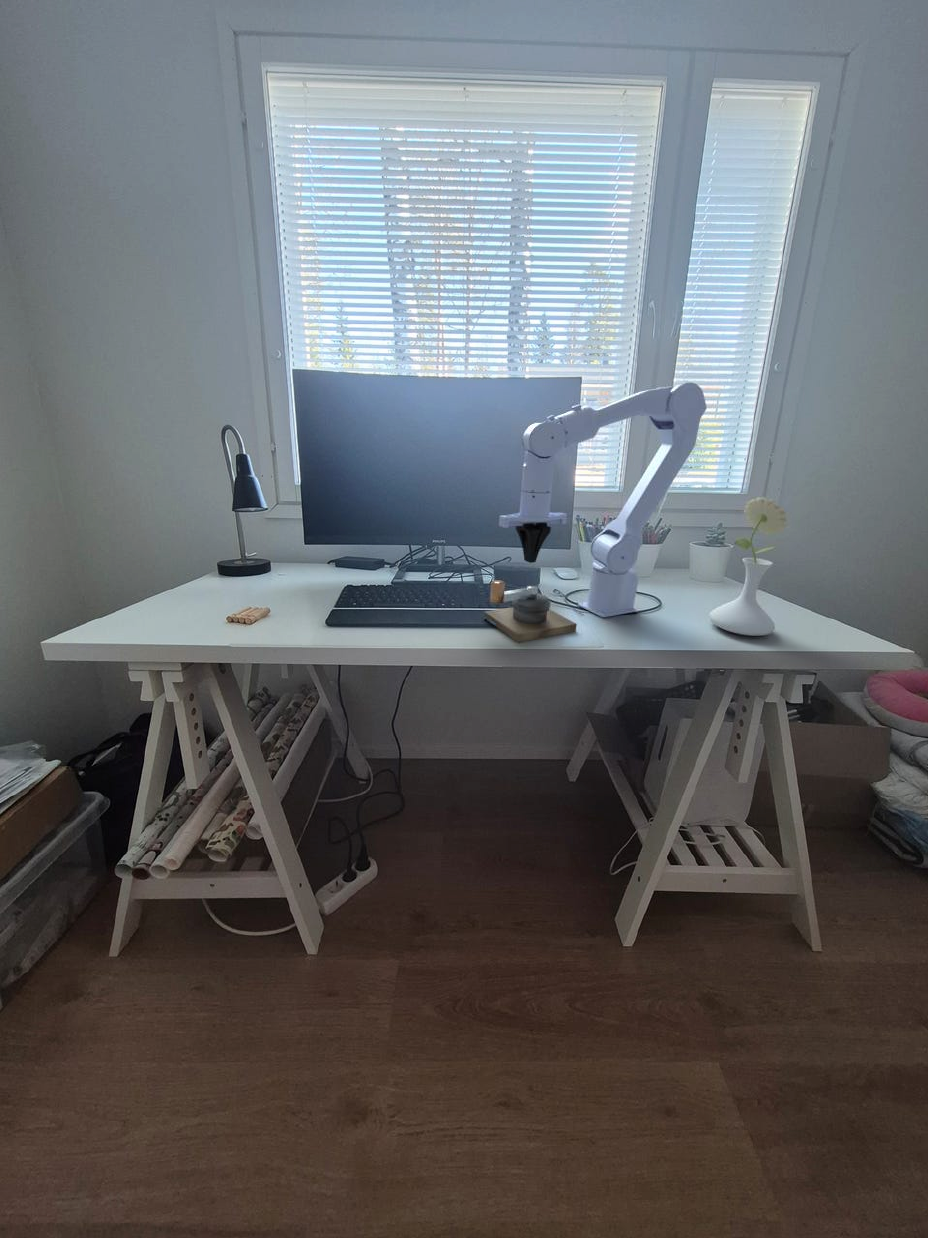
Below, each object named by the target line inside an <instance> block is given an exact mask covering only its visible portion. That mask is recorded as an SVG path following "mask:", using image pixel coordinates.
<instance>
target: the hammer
mask: <svg viewBox="0 0 928 1238" xmlns="http://www.w3.org/2000/svg"><path fill="white" fill-rule="evenodd" d="M505 586H506V582H505V581H503V580H499V579H498V580H495V579H494V580H492V581H491V584H490V597H489V598H490V599H489V600H490V601H489V602H490V603H491V604H494V605H500V604H501V605H502V604H504V603H507V602H512V600H517V599H523V598H528V599H536V598H537V593H538V589H539V587H538V586H537V585H527V586H526V587H523V588H522V587H521V588H518V589H512V590H505Z"/></svg>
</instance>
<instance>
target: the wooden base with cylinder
mask: <svg viewBox="0 0 928 1238" xmlns="http://www.w3.org/2000/svg"><path fill="white" fill-rule="evenodd" d="M483 612H484V615H485V616H486V617H487V618H488V619H491V620H492V621H493V622H495V623H496V625H497V629H498V630H499V631H501V633H504V634H505V635H506V636H508V637H509V638H510V639H512V640H513V641H515V642H516V643H522V642H527V641H532V640H537V639H538V640H539V639H542V638H548V637H554V636H558V635H564V634H568V633H574V632H576V631H577V625H578V624H577V623H576V622H575V621H572V620H570V619H569V618H567V617H565V616H563V615H561V614H559V613H557V612H556V611H554V610H552V609H551V601H550V600H549V597H547V596H546V595H545V594H542V593H538V592H537V598H536V599H528V598H523V599H517V600H512V601H511V607H507V608H505V607H504V608H500V609H493V610H486V611H483ZM484 615H483V616H484Z"/></svg>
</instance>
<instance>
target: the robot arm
mask: <svg viewBox="0 0 928 1238" xmlns="http://www.w3.org/2000/svg"><path fill="white" fill-rule="evenodd" d="M707 408H708V407H707V403H706V398H705V395H704V392H703V389H702V388H701V386H700V385H698V384H697V383H695V382H684V383H681V384H678V385H670V386H659V387H657V388H653V389H648V390H643V391H638V392H636V393H634V394H631V395H628V396H626V397H623V398H621V399H619V400H617V401H614V402H611V403H609V404H606V405H605V406H602V407H600V408H597V409H593V407H591V406H589V405H584V406H582V405H581V404H577V405H573V406H571V410H570V411H567V412H565V413H562V414H560V415H557V416H555V415H554V414H553V415H549V416H547V417H546V419H547V421H543V422H535V423H533V424H532V423H531V425H529V426H528V428H527V429H525V431H524V433H523V435H522V436H523V437H521V441H520V442H521V447H522V449H523V450H524V458H523V459H524V461H523V465H522V475H521V476H522V477H521V478H522V479H521V489H520V491H521V492H520V501H519V502H520V504H519V512H518V513H511V514H506V515H505V514H504V515H499V519H498V521H499V522H498V526H499V527H502V528H503V529H504V528H505V529H507V528H509V527H515V530H516V532H517V534H518V537H519V540H520V542H521V543H520V544H521V547H522V553H523V559H524V561H525V562H527V563H528V564H531V563H532V564H533V563H536V561H537V558H538V556H539V553H540V550H541V548H542V546H543V544H544V543H545V541H546V539H547V537H548V536H549V535H550V534H551V531H552V527H551V526H549V525H551V524H552V525H555V524H561V525H566V524H567V517H568V514H567V513H564V512H551V502H552V494H553V482H554V474H555V473H554V472H555V461H556V454H557V453H558V452H559V451H560V450H564V449H567V448H569V447H572V446H575V445H578V444H580V443H583V442H585V441H588V440H591V439H594V438H595V436H596V435H597V434H598V432H599V431H600V429H601V428H603V427H605V426H608V425H611V424H614V423H618V422H621V421H623V420H627V419H630V418H633V417H635V416H641V417H648V419H649V420H650V422H651V423H652V425H653V427H654V428H655V430H656V432H658V436H659V439H660V442H661V443H660V445H661V446H660V447H659V448H658V450H657V452H656V453H655V455H654V457H653V458H652V460H651V461H650V463H649V465H648V466H647V469H646V470H645V472H644V473H643V475H642V476H641V478H640V480H639V481H638V483H637V484H636V486H635V488H634V489H633V492H632V493H631V495H630V496H629V498H628V500H627V501H626V502H625V504H624V506H623V508H622V509H621V511H620V512H619V514H618V516H617V517H616V518H615V519H614V520H612V521H610V522H608V523H607V524H606V525H605V527H604V529H603V530H602V531H601V532H600V533H598V534H597V535H596V536H595V537H593V538H592V541H591V542H590V546H589V551H590V554H591V556H592V558H593V562H592V567H591V574H590V581H589V587H588V594H587V601H583V602H578V603H577V606H578V607H580V608H582V609H585V610H587V611H588V612H590V613H593V614H595V615H597V616H599V617H601V618H607V617H613V616H619V615H624V614H628V613H629V614H630V613H635V612H637V609H636V608H634V605H635V601H636V596H637V590H638V584H639V578H638V574H637V572H636V571H635V570H634V569H633V567H634V566H635V565H636V563H637V561H638V557H639V550H640V548H641V547H642V546H643V543H644V540H643V534H642V531H643V529H644V528H645V526H646V524H647V523H648V521H649V520H650V518H651V517H652V515H653V514H654V512H655V510H656V508H658V505H659V504H660V502H661V501H662V499H663V497H664V496H665V494H666V493H667V491H668V489H669V488H670V487H671V485H672V483H673V482H674V480H675V479H676V477H677V475H678V474H679V472H680V471H681V469H682V468H683V466H684V464H685V463H686V461H687V460H688V458H689V456H690V454H691V453H692V452H693V450H694V448H695V446H696V442H697V437H698V433H699V427H700V422H701V419H702V417H703V416H704V413H705V412H706V410H707Z"/></svg>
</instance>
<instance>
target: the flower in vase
mask: <svg viewBox="0 0 928 1238" xmlns="http://www.w3.org/2000/svg"><path fill="white" fill-rule="evenodd" d="M744 508H745V509H744V510H743V514H744V515H745V516H746V517H745V519H746V521H748V524H749V526H751V527H753V530H752V533H751V535H750V538H749V540H747V539H746V538H745V537H743V536H741V537H739V538H738V539H737V540H735V541H734V542H733V545H735V546H737V547H740V548H741V549H743V550H745V551H747V550H748V549H749V548H750V550H751V553H752V557H743V558H742V562H743V563H744V568H745V580H744V585H743V587H742V588H743V589H742V591H741V593H740V595H739V596H738V597H737V598H736V599H733V600H732V601H729V602H726V603H724V604H722V605H720V606H718V607H716V608H714V609H713V610H712V611H711V612H710V613H709V614H708V618H709V620H710V622H711V623H712V624H714V625H715V626H717V627H719V628H721V629H722V630H725V631H727V632H730V633H734V634H739V635H742V636H743V635H744V636H753V637H754V636H756V637H757V636H766V635H770V634H772V633H773V632H774V631H775V629H776V626H775V622H774V620H773V619H772V618H771V617H770V615H769V614H768V613H767V612H766V611H765V610H764V609H763V608H762V607H761V606H760V605H759V603H758V601H757V599H756V598H757V590H758V588H759V584H760V582H761V579H762V578H763V576H764V574H765V573H766V571H767V570H768V569H769V568H771V567H772V566H773V565H774V562H772V561H771V560H767V559H763V558H757V556H756V554H760V553H761V554H762V553H764V552H769V551H770V550H772V549H774V548H775V547H777V544H776V545H775V546H772V547H764V548H762V549H760V550H758V551H755V549H754V546H753V538H754V535H755V533H756V531H758V530H759V533H761V534H765V535H766V536H771V535H777V534H781V533H783V532H784V530H785V528H786V527H785V526H786V525H787V524H788V522H787V521H788V518H787V517H786V516H785V514H786V510H785V509H782V505H780V504H776V503H775V500H774V499H769V500H768V499H767V498H766V497H765V496H762V497H759V496H758V497H756V499H754V498H753V499H750V501H747V502H746V505H745V507H744Z"/></svg>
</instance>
